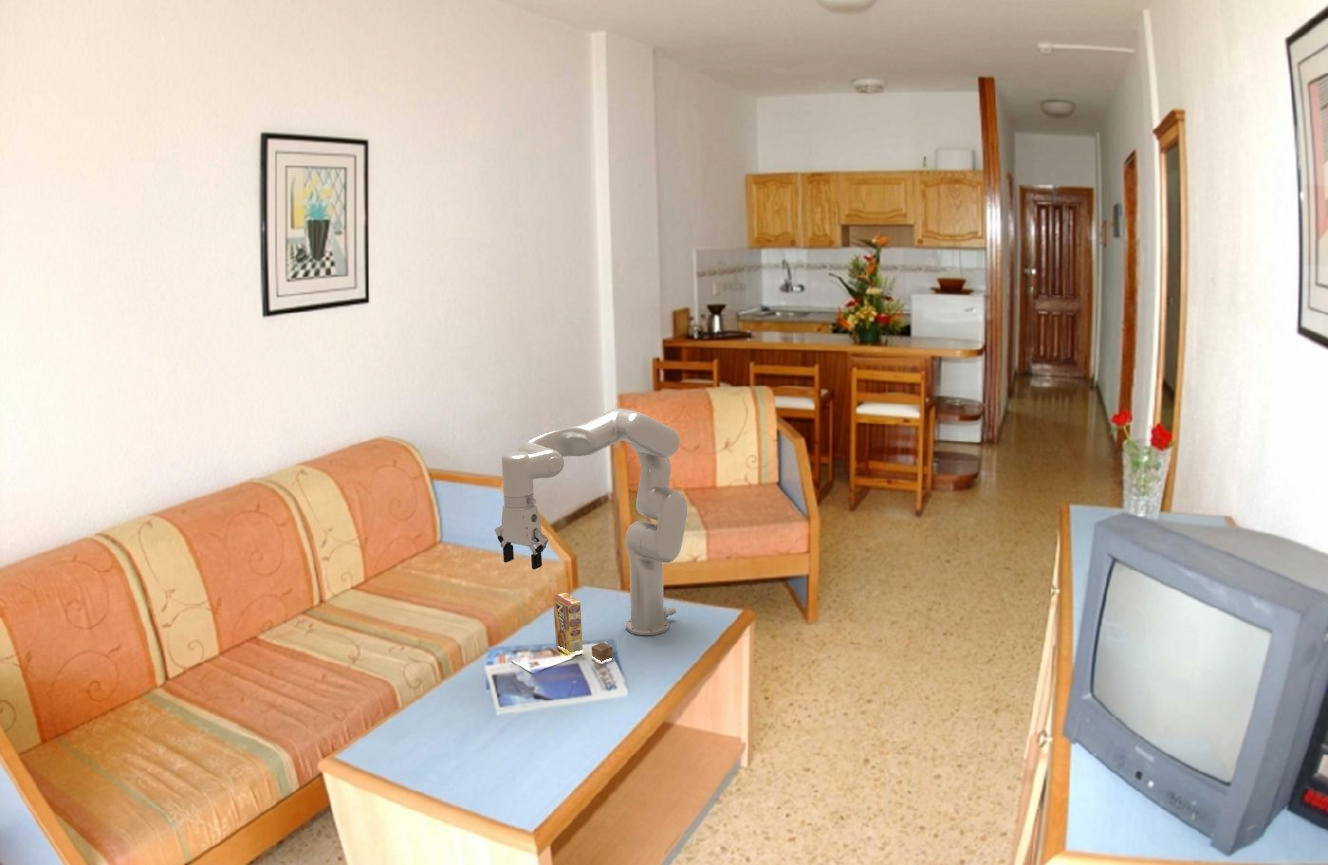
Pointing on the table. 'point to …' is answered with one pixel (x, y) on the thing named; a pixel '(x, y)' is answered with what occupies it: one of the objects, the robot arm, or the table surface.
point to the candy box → (567, 622)
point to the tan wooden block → (602, 651)
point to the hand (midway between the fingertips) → (522, 564)
